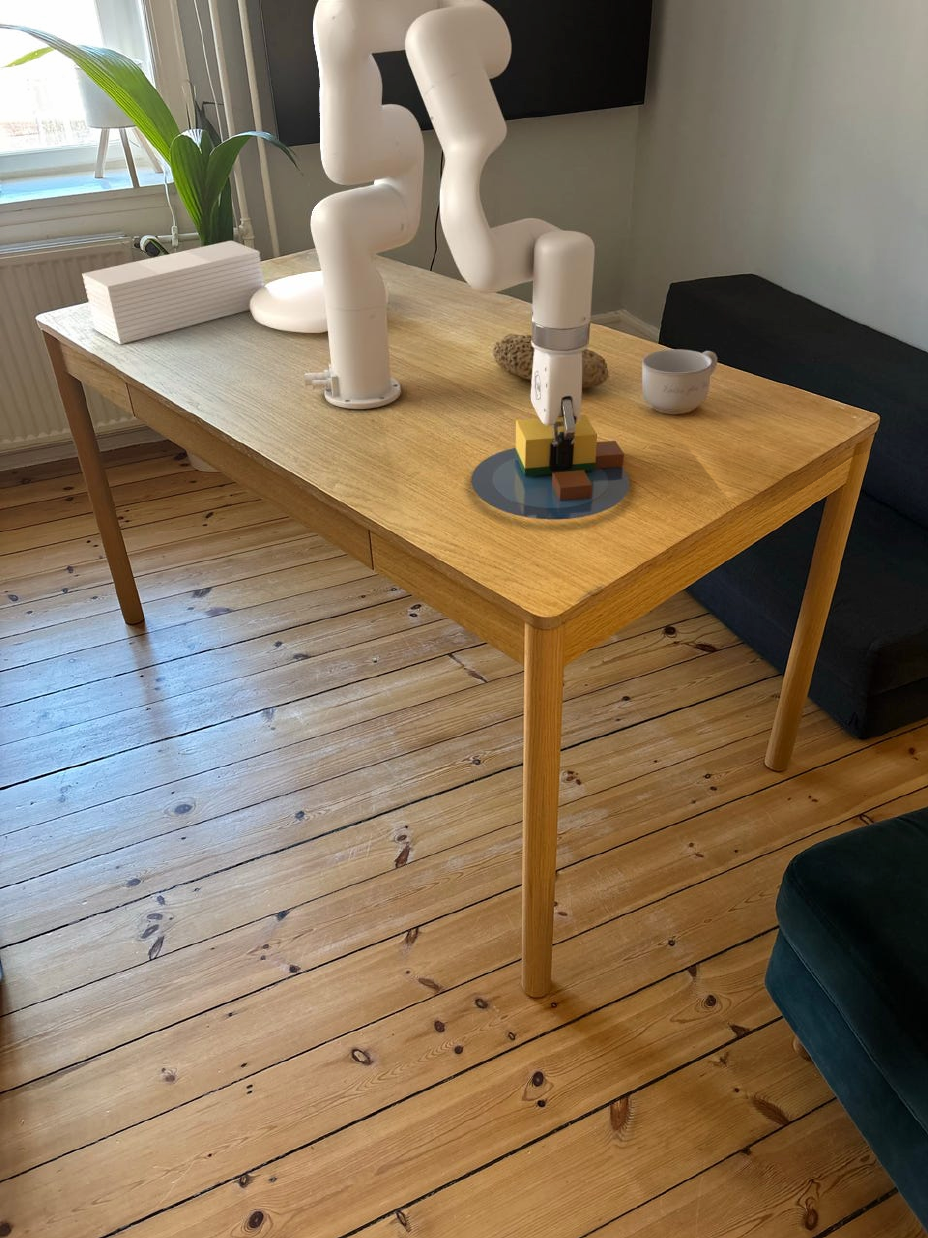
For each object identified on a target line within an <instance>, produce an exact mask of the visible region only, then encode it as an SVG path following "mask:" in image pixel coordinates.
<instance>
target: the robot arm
mask: <svg viewBox="0 0 928 1238" xmlns="http://www.w3.org/2000/svg"><path fill="white" fill-rule="evenodd" d="M313 38H314V39H313V40H314V45H315V52H316V57H317V62H318V69H319V84H320V85H319V86H320V87H319V113H320V114H319V115H320V116H319V118H320V126H319V127H320V158H321V162H322V163H321V164H322V167H323V170H324V173H325V174H326V176H327V178H328V179H329V180H330V181H332V182H334V183H335V184H338V185H342V186H343V185H344V186H353V185H354V186H355V185H361V184H365V183H371V182H374V184H370V185H366V186H363V187H356V188H351V189H348V190H343V191H339V192H336V193H332V194H330V195H328V196H326V197H324V198H323V199H322V200H320V201H319V202H318V203H317V204H316V206H315V207H314V209H313V211H312V213H311V218H310V230H311V235H312V236H311V237H312V239H313V244H314V247H315V250H316V253H317V258H318V261H319V267H320V271H321V272H322V278H323V287H324V296H325V305H326V315H327V326H328V331H327V335H328V345H329V347H328V348H329V356H330V357H329V358H330V363H329V364H328V369H324V370H323V372H305V373H303V374H304V384H305V386H312V389H313V390H319V389H323V392H324V398H325V400H326V401H327V402H328V403H330V404H331V405H334V406H335V407H340V408H341V409H342V408H343V409H347V410H348V409H349V410H368V409H375V408H380V407H383V406H386V405H389V404H391V403H393V402H395V401H396V400H397V399H398V398H399V397H400V396H401V393H402V390H401V387H402V386H401V384H400V382H399V381H398V380H396V379H395V378H393V377H391V363H390V348H389V347H390V344H389V330H388V312H387V310H388V309H387V305H386V294H385V286H384V282H385V281H384V279H383V277H382V275H381V273H380V272H379V270H378V269H377V267H376V265H375V264H374V263H373V259H372V257H373V256H375V255H377V254H380V253H382V252H386V251H389V250H393V249H396V248H400V247H402V246H405V245H407V244H408V243H410V242H411V241H412V240H413V239H414V238H415V236H416V234H417V233H418V230H419V226H420V222H421V214H422V199H423V182H424V165H425V143H424V138H423V137H424V136H423V134H422V133H423V132H422V129H421V128H420V125H419V122H418V120H417V119H416V117H415V116H414V114H413V113H412V112H411V111H410V110H409V109H408V108H407V107H405V106H402V105H399V104H393V103H388V104H382V99H383V82H382V81H383V80H382V75H381V71H380V69H379V66H378V63H377V62H376V60H375V58H374V56H373V54H378V53H379V54H380V53H387V52H399V51H405V55H406V59H407V61H408V65H409V67H410V69H411V72H412V75H413V77H414V79H415V82H416V85H417V88H418V91H419V93H420V96H421V98H422V100H423V104H424V106H425V108H426V111H427V114H428V116H429V118H430V121H431V123H432V126H433V129H434V132H435V134H436V136H437V139H438V142H439V144H440V146H441V149H442V152H443V155H444V167H443V170H442V175H441V179H440V188H439V217H440V223H441V228H442V231H443V234H444V237H445V240H446V242H447V246H448V248H449V250H450V253H451V255H452V257H453V260H454V263H455V264H456V267H457V269H458V271H459V273H460V275H461V276H462V278H463V279H464V280H465V282H466V283H467V284H468V285H469V286H470V287H471V288H472V289H473V290H475V291H476V292H479V293H482V294H494V293H498V292H502V291H504V290H507V289H510V288H512V287H515V286H517V285H520V284H526V283H529V282H532V302H531V303H532V304H531V306H532V307H531V309H532V310H531V336H532V337H531V345H532V347H533V348H535V349H534V358H533V370H532V381H531V384H530V402H531V404H532V406H533V408H534V411H535V412H536V415H537V416H538V419H540V420H541V421H542V423H543V424H544V425H545V426H549V425H552V438H553V443H550V460H549V468H550V470H551V471H560V470H571V469H572V468H573V453H574V437H575V436H574V435H575V432H576V429H575V424H576V423H577V422H578V421H579V419H580V415H581V412H582V411H581V409H582V394H583V393H582V392H583V388H582V351H583V350H585V349H588V348H589V345H590V331H591V317H592V316H591V315H592V299H593V283H594V268H595V267H594V266H595V250H596V249H595V243H594V241H593V240H592V238H591V237H590V236H589V235H587V234H585V233H583V232H580V231H575V230H563V229H562V228H559V227H557V226H555V225H553V224H552V223H550V222H548V221H546V220H543V219H541V218H537V217H528V218H521V219H519V220H515V221H513V222H508V223H504V224H500V225H498V226H494V227H490V225H489V222H488V220H487V218H486V214H485V211H484V208H483V205H482V201H481V195H480V184H481V183H480V181H481V176H482V171H483V169H484V166H485V164H486V162H487V160H488V158H489V157H490V155H492V153H494V152H495V151H496V150H497V149H498V148H499V147H500V146H501V144H503V142H504V140H505V138H506V136H507V134H508V133H507V132H508V127H507V124H506V121H505V118H504V116H503V113H502V110H501V108H500V104H499V103H498V100H497V97H496V95H495V92H494V90H493V86H492V83H491V81H490V80H491V79H494V78H497V77H499V76H500V75H501V74H503V72H504V71H505V70H506V69H507V67H508V65H509V62H510V60H511V55H512V39H511V35H510V31H509V28H508V25H507V24H506V22H505V20H504V18H503V17H502V16H501V14H500V13H499V12H498V11H497V10H496V9H495V8H494V7H493V6H492V5H490V4H489V3H487V2H486V1H484V0H318V1H317V3H316V6H315V10H314V14H313ZM383 281H384V282H383ZM558 417H562V418H563V421H562V422H556V420H557V418H558ZM558 426H564V428H563V431H562V432H560V433H559V435H558Z"/></svg>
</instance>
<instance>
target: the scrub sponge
mask: <svg viewBox="0 0 928 1238" xmlns="http://www.w3.org/2000/svg"><path fill="white" fill-rule="evenodd" d="M562 421H563V418H562V417H558V418H557V420H556V422H562ZM563 428H564V426H558V435H559V433H560V432H562V431H563ZM575 429H576V432H575V435H574V436H575V437H574V453H573V468H572V469H571V470H560V471H551V470H550V468H549V460H550V443H553V438H552V425H549V426H545V425H544V424H543V423H542V421H541V420H540V419H539V418H529V419H518V420H517V419H516V421H515V448H516V450H515V456H516V458H517V460H518V462H519V464H520V467H521V469H522V471H523V473H524V476H535V475H546V474H552V473H555V472H566V471H577V470H584V471H592V470H595V459H596V446H597V442H598V433H597V432H596V430H595V427H594V426H593V425H592V424H591V422H590V420H589V419H588V417H587V415H586V414H580V419H579V421H578V422H577V423H576V424H575Z"/></svg>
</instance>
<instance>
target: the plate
mask: <svg viewBox="0 0 928 1238" xmlns="http://www.w3.org/2000/svg"><path fill="white" fill-rule="evenodd" d="M383 282H384V286H385V294H386V306H387V305H388V302H389V298H390V291H389V287H388V285H387V283H386V282H385V281H384V280H383ZM263 286H264V287H262V288H260V289H259V290H258V291H257V292H256V293H255V294H254V295H253V297H252V298H251V300H250V310H249V311H250V313H251V314H252V317H253V319H254V320H255V321H256V322H258V324H260V325H263V326H264V327H265V326H266V327H268V328H271V329H275V330H279V331H284V332H290V333H291V332H292V333H303V334H304V333H305V334H320V333H326V332H328V326H327V315H326V305H325V296H324V287H323V278H322V272H321V270H318V271H317V270H316V271H311V272H304V273H299V274H294V275H291V276H287V277H283V278H280V279H277V280H274V281H271V282H269V283H267V284H266V285H263Z"/></svg>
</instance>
